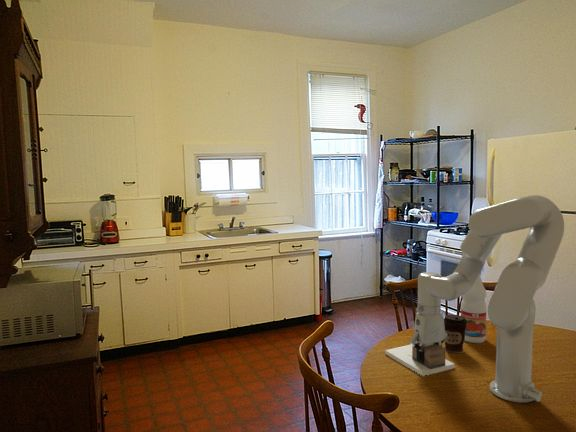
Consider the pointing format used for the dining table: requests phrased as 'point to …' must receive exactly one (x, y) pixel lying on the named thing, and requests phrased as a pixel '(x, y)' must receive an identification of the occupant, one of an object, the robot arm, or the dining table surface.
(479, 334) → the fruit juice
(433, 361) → the block
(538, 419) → the dining table surface
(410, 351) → the board
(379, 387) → the dining table surface
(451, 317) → the coffee cup
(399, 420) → the dining table surface
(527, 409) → the dining table surface
